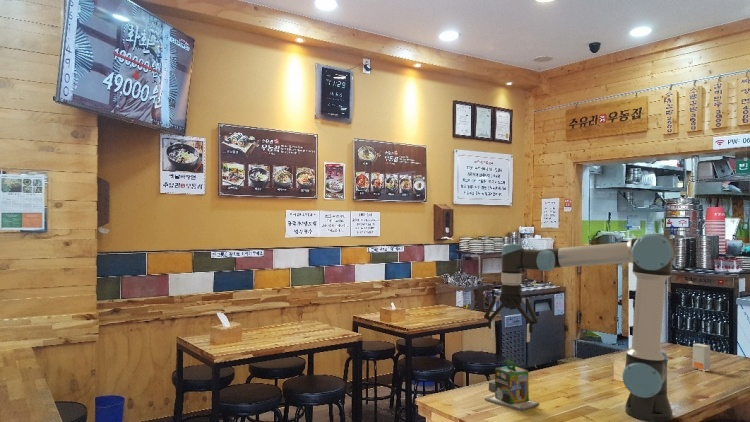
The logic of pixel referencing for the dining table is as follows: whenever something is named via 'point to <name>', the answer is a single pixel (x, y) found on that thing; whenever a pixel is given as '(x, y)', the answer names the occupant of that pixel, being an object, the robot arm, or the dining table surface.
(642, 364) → the robot arm
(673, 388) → the dining table surface
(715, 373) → the dining table surface
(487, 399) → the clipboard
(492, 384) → the button housing
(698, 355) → the skincare box
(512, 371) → the chalk box
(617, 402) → the dining table surface
